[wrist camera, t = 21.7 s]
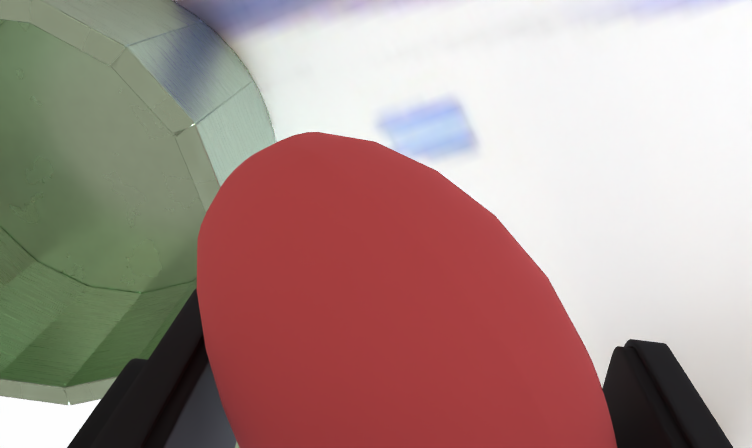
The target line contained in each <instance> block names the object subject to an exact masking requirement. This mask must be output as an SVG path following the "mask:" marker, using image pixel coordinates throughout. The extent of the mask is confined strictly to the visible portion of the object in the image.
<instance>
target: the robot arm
mask: <svg viewBox="0 0 752 448" xmlns="http://www.w3.org/2000/svg"><path fill="white" fill-rule="evenodd" d="M602 390H603V393H604V396H605V399H606V402H607V406H608V409H609V413H610V417H611V420H612V425H613V429H614V433H615V438H616V443H617V448H733V446H732V445H731V443H730V442H729V440H728V439H727V437H726V436H725V434H724V432H723V431H722V429H721V428H720V426H719V425H718V423H717V422H716V420H715V418H714V417H713V415H712V414H711V412H710V411H709V409H708V408H707V406H706V404H705V403H704V401H703V400H702V398H701V397H700V395H699V394H698V392H697V390H696V389H695V387H694V386H693V384H692V383H691V381H690V380H689V378H688V376H687V375H686V373H685V372H684V370H683V369H682V367H681V366H680V364H679V362H678V361H677V359H676V358H675V356H674V355H673V353H672V352H671V350H670V348H669V347H668V346H667V345H666V344H664V343H658V342H650V341H641V340H633V339H630V340H628V341H627V343H626V344H625V346H624V347H620V346H618V347H616V348H615V349H614V351H613V354H612V357H611V361H610V364H609V368H608V371H607V375H606V378H605V382H604V385H603V389H602ZM236 441H237V440H236V438H235V435H234V433H233V431H232V428H231V426H230V423H229V421H228V418H227V416H226V413H225V411H224V408H223V406H222V403H221V399H220V396H219V393H218V389H217V386H216V382H215V379H214V376H213V372H212V369H211V365H210V362H209V359H208V355H207V352H206V348H205V341H204V335H203V328H202V322H201V315H200V309H199V303H198V296H197V288H196V289H195V290H194V291H193V293H192V294H191V296H190V297H189V299H188V300H187V302H186V303H185V305H184V306H183V308H182V309H181V311H180V312H179V314H178V315H177V317H176V318H175V320H174V321H173V323H172V324H171V326H170V327H169V329H168V330H167V332H166V333H165V335H164V336H163V338H162V339H161V341H160V342H159V344H158V345H157V347H156V348H155V350H154V351H153V353H152V354H151V356H150V357H149V359H148V360H147V359H138V358H134V359H132V360H130V361H129V362H128V363H127V364H126V365H125V367H124V368H123V370H122V371H121V373H120V374H119V375H118V377H117V378H116V380H115V381H114V382H113V384H112V385H111V387H110V388H109V389H108V391H107V392H106V394H105V395H104V397H103V398H102V399H101V401H100V402H99V404H98V405H97V406H96V408H95V409H94V411H93V412H92V413H91V415H90V416H89V418H88V419H87V420H86V422H85V423H84V425H83V426H82V428H81V429H80V430H79V432H78V433H77V435H76V436H75V437H74V439H73V440H72V442H71V443H70V444H69V446H68V447H67V448H235V445H236Z"/></svg>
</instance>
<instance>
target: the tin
mask: <svg viewBox="0 0 752 448" xmlns="http://www.w3.org/2000/svg"><path fill="white" fill-rule="evenodd" d="M273 144H275V136H274V131H273V128H272V124H271V121H270V117H269V114H268V111H267V108H266V106H265V104H264V101H263V99H262V97H261V94H260V92H259V90H258V88H257V86H256V85H255V83H254V81H253V79H252V78H251V76H250V74H249V72H248V71H247V69H246V68H245V66H244V65H243V64H242V62H241V61H240V60H239V58H238V57H237V56H236V54H235V53H234V52H233V50H232V49H231V48H230V47H229V46H228V45H227V44H226V43H225V42H224V41H223V40H222V39H221V37H220V36H219V35H218V34H217V33H216V32H215V31H214V30H212V29H211V28H210V27H209V26H208V25H206V24H205V23H204V22H203V21H202V20H200V19H199V18H198V17H197V16H196V15H194V14H193V13H191V12H190V11H188V10H186V9H185V8H183V7H182V6H180V5H179V4H177V3H176V2H174V1H172V0H0V396H5V397H13V398H20V399H27V400H34V401H42V402H49V403H56V404H64V405H70V404H71V405H74V404H79V403H84V402H89V401H93V400H98V399H102V398H103V397H104V395H105V394H106V392H107V391H108V389H109V388H110V387H111V385H112V384H113V382H114V381H115V380H116V378H117V377H118V375H119V374H120V373H121V371H122V370H123V368H124V367H125V365H126V364H127V363H128V362H129V361H130V360H132V359H134V358H138V359H147V360H148V359H149V357H150V356H151V354H152V353H153V351H154V350H155V348H156V347H157V345H158V344H159V342H160V341H161V339H162V338H163V336H164V335H165V333H166V332H167V330H168V329H169V327H170V326H171V324H172V323H173V321H174V320H175V318H176V317H177V315H178V314H179V312H180V311H181V309H182V308H183V306H184V305H185V303H186V302H187V300H188V299H189V297H190V296H191V294H192V293H193V291H194V290H195V289H196V288H197V240H198V235H199V231H200V227H201V224H202V222H203V219H204V217H205V214H206V212H207V210H208V209H209V207H210V205H211V203H212V202H213V200H214V198H215V196H216V194H217V193H218V191H219V189H220V187H221V186H222V184H223V183H224V182H225V180H226V179H227V178H228V176H229V175H230V174H231V173H232V172H233V171H234V170H235V169H236V168H237V167H238V166H239V165H240V164H241V163H242V162H244V161H245V160H246V159H248V158H249V157H250V156H252V155H253V154H255V153H257V152H259V151H261V150H262V149H264V148H266V147H269V146H271V145H273Z"/></svg>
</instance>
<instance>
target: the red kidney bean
mask: <svg viewBox="0 0 752 448" xmlns="http://www.w3.org/2000/svg"><path fill="white" fill-rule="evenodd" d="M197 296H198V303H199V309H200V315H201V322H202V328H203V335H204V341H205V348H206V352H207V355H208V359H209V362H210V365H211V369H212V372H213V376H214V379H215V382H216V386H217V389H218V393H219V396H220V399H221V403H222V406H223V408H224V411H225V413H226V416H227V418H228V421H229V423H230V426H231V428H232V431H233V433H234V435H235V438H236V440H237V443H238V445H239V448H617V443H616V438H615V433H614V429H613V425H612V420H611V417H610V413H609V409H608V406H607V402H606V399H605V396H604V393H603V390H602V387H601V384H600V381H599V378H598V376H597V373H596V370H595V368H594V365H593V363H592V360H591V358H590V356H589V354H588V352H587V350H586V348H585V346H584V344H583V342H582V340H581V338H580V336H579V334H578V333H577V331H576V329H575V327H574V325H573V323H572V322H571V320H570V318H569V316H568V314H567V312H566V310H565V309H564V307H563V305H562V303H561V301H560V299H559V298H558V296H557V294H556V292H555V290H554V288H553V287H552V285H551V283H550V281H549V279H548V277H547V276H546V275H545V274H544V273H543V271H542V270H541V269H540V268H539V267H538V266H537V264H536V263H535V262H534V261H533V260H532V258H531V257H530V256H529V255H528V254H527V253H526V251H525V250H524V249H523V248H522V247H521V246H520V244H519V243H518V242H517V241H516V240H515V239H514V237H513V236H512V235H511V234H510V233H509V232H508V230H507V229H506V228H505V227H504V226H503V224H502V223H501V222H500V221H499V220H498V219H497V217H496V216H495V215H493V214H492V213H491V212H489V211H488V210H487V209H486V208H484V207H483V206H482V205H480V204H479V203H478V202H477V201H475V200H474V199H473V198H471V197H470V196H469V195H467V194H466V193H465V192H464V191H462V190H461V189H460V188H458V187H457V186H456V185H455V184H453V183H452V182H451V181H449V180H448V179H447V178H445V177H444V176H443V175H442V174H440V173H439V172H438V171H436V170H434V169H432V168H429V167H427V166H425V165H423V164H421V163H419V162H417V161H415V160H413V159H410V158H408V157H406V156H404V155H402V154H400V153H398V152H396V151H394V150H391V149H389V148H387V147H385V146H383V145H381V144H379V143H377V142H373V141H368V140H362V139H356V138H350V137H344V136H338V135H332V134H326V133H320V132H307V133H302V134H298V135H294V136H291V137H289V138H286V139H284V140H281V141H279V142H277V143H275V144H273V145H271V146H269V147H266V148H264V149H262V150H261V151H259V152H257V153H255V154H253V155H252V156H250V157H249V158H248V159H246V160H245V161H244V162H242V163H241V164H240V165H239V166H238V167H237V168H236V169H235V170H234V171H233V172H232V173H231V174H230V175H229V176H228V178H227V179H226V180H225V182H224V183H223V184H222V186H221V187H220V189H219V191H218V193H217V194H216V196H215V198H214V200H213V202H212V203H211V205H210V207H209V209H208V210H207V212H206V214H205V217H204V219H203V222H202V224H201V227H200V231H199V235H198V240H197Z"/></svg>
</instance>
